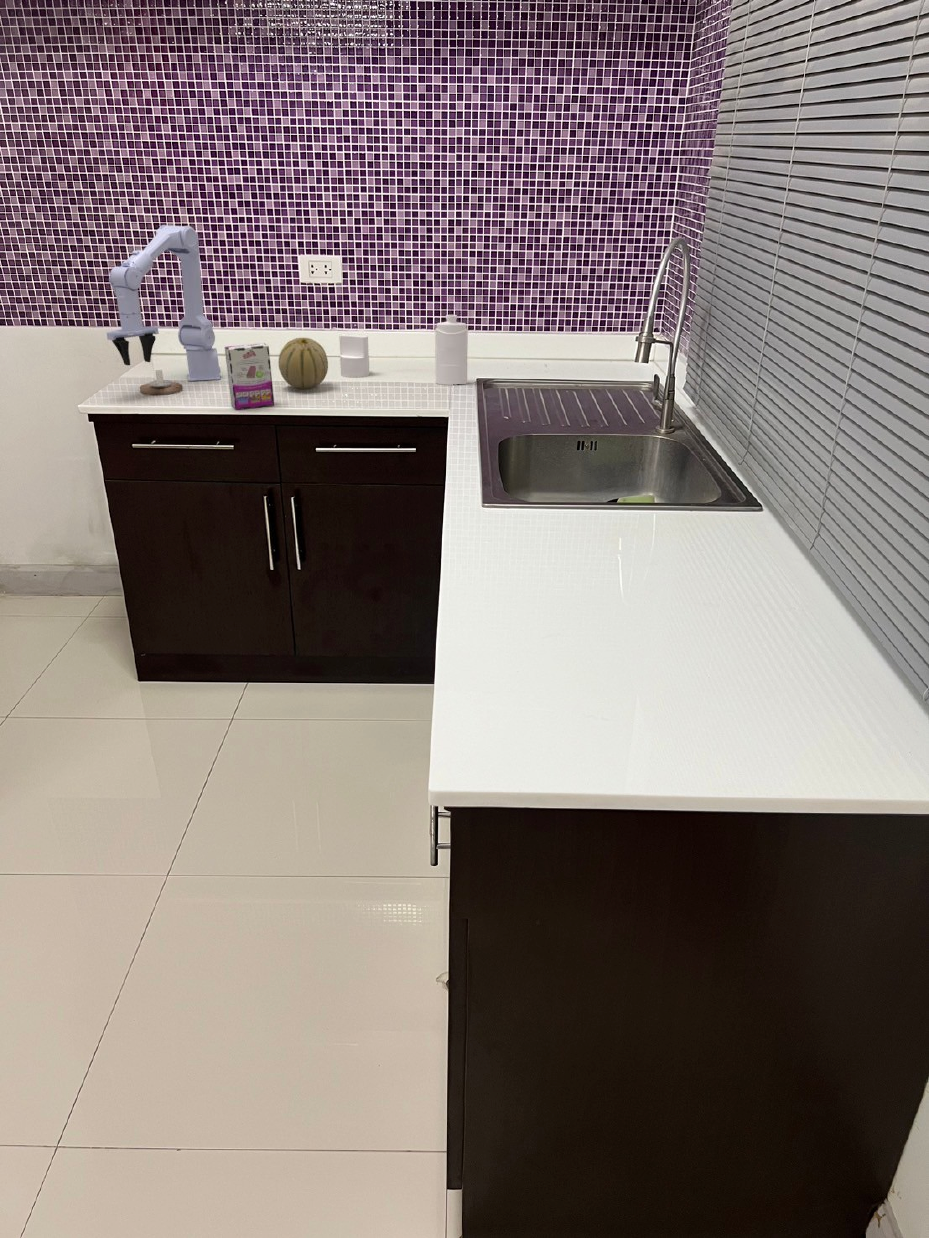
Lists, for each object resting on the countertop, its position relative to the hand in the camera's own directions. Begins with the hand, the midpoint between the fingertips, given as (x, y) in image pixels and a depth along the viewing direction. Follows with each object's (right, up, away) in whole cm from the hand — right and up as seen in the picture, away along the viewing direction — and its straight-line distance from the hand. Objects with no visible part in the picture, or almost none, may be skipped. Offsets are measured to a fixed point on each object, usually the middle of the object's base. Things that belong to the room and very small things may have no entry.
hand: (137, 363), depth 262 cm
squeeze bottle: (+88, 0, +22) cm, 91 cm away
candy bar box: (+34, -13, -5) cm, 36 cm away
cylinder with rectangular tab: (+58, +5, +33) cm, 66 cm away
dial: (+3, -4, +10) cm, 11 cm away
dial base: (+3, -5, +11) cm, 13 cm away
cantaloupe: (+45, -4, +15) cm, 47 cm away
